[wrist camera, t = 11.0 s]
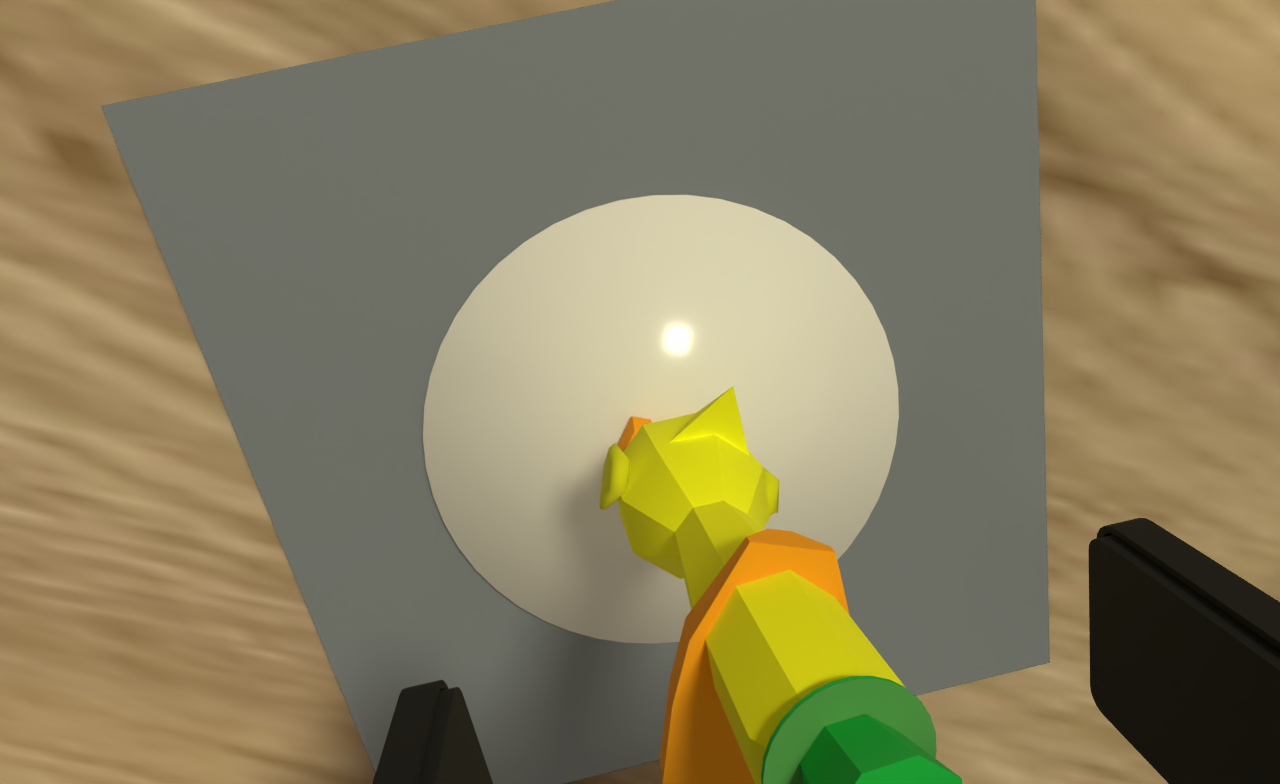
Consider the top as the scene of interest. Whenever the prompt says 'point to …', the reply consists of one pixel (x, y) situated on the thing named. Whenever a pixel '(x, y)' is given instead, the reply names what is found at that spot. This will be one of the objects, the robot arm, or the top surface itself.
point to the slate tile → (622, 335)
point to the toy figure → (757, 623)
